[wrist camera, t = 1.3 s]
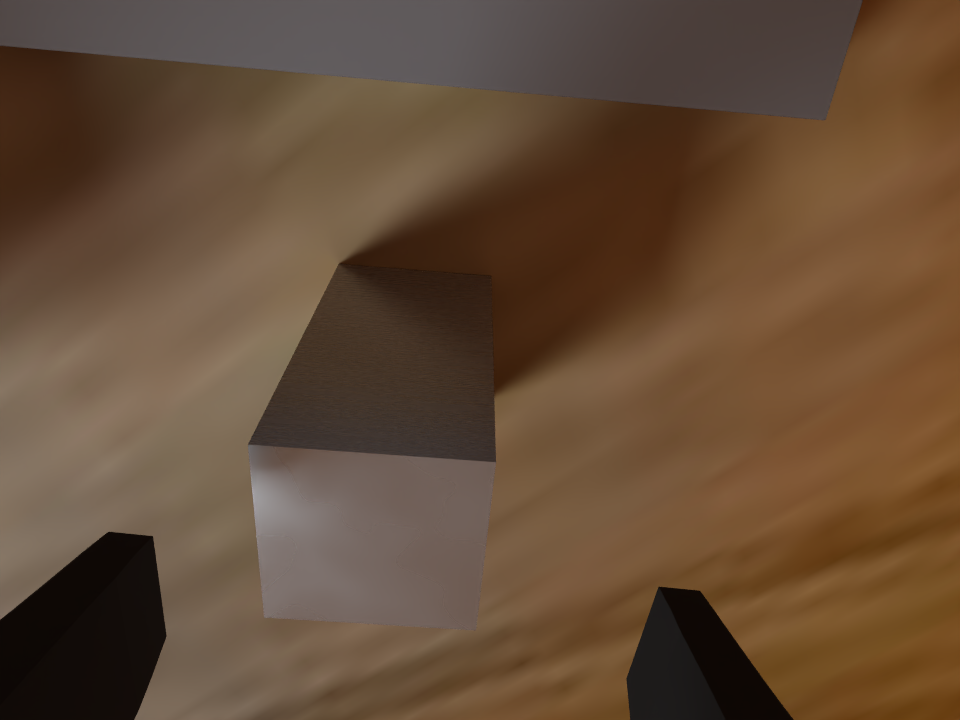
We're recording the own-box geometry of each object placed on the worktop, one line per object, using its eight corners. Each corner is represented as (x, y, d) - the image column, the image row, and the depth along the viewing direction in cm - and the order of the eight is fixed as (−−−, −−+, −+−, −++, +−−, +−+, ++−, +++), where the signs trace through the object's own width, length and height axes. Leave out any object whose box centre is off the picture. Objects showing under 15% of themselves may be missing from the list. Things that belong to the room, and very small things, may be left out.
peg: (340, 393, 20) (264, 617, 13) (338, 263, 18) (247, 445, 11) (478, 403, 20) (475, 630, 13) (491, 276, 18) (495, 462, 11)
